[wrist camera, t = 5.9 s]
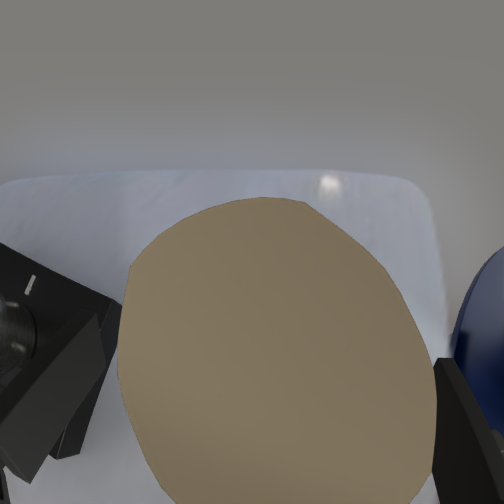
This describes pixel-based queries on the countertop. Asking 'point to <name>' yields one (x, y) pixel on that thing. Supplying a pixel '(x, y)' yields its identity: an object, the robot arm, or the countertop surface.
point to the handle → (274, 363)
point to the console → (60, 325)
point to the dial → (15, 334)
